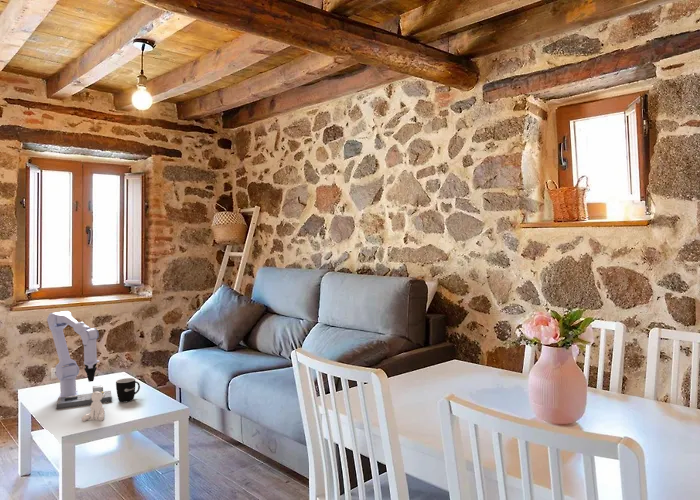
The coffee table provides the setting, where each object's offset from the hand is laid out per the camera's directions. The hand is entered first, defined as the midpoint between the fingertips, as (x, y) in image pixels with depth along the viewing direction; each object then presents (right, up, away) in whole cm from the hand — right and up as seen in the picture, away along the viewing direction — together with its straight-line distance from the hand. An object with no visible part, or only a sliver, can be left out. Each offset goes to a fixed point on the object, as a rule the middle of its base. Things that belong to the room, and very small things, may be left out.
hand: (91, 379), depth 266 cm
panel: (-1, -10, -4) cm, 11 cm away
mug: (+20, -10, -1) cm, 22 cm away
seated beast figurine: (+16, -11, -29) cm, 35 cm away
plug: (+4, -10, -1) cm, 11 cm away
